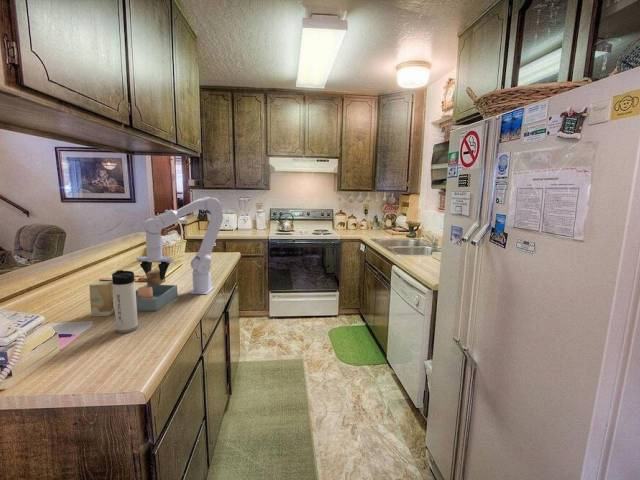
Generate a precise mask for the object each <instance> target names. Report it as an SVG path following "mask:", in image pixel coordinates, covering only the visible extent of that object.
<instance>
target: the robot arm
mask: <svg viewBox="0 0 640 480" xmlns="http://www.w3.org/2000/svg"><path fill="white" fill-rule="evenodd" d="M222 209H223V204H222V203H221V201H220V200H219V199H218V198H217V197H211V196H204V197H202V198H198V199H196V200H194V201H192V202H190V203H188V204H186V205H183V206H182V207H180V208H179V209H176V210H174V209H169V210H168V209H165V210H164V212H163V213H160V214H158V215H153V218H152V217H151V218H148V219H146V220H145V222H144V225H143V229H144V230H145V248H146V256H138V257H136V258H135V259H136V263H140V264H139V265H140V268H141V269H142V270H143V271H144V274H145V277H146V278H147V275H146V273H148V272H150V271H152V270H153V268H152V267H153V263H157V266H158V270H160V279H161V280H163V279H165V280H166V274H167V270H168V267H169V266H170V264H173V263H174V257H167V256H163V244H162V243H163V241H162V234H161V233H162V230H163V229H166V228H168V227H170V226H172V225H174V224H175V223H178V222H179V221H180V218H181V217H183V216H186V215H188V214H191V213H192V212H195V211H204V212H205V213H206V215H208V217H209V219H210V220H209V222H208V225H207V228H206V231H205V234H204V236H203V239H202V241H201V242H202V243H201V245H200V246H199V247H200V248H199V250H198V252H196V254H195V256H194V257H193V258H192V260H191V262H190V266H191V268H192V269H193V270H192V275H191V276H192V290H191V291H190V292H189V294H193V295H207V294H209V293H210V292H211V291H212V290H213V289H215V288H214V286H213V279H212V273H211V272H210V270H211V261H212V256H211V255H212V252H213V248H214V247H215V243H216V241H217V237H218V234H219V232H220V229H221V226H222V223H223V220H224V216H223V215H224V213H223V210H222Z"/></svg>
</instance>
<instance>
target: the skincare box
mask: <svg viewBox="0 0 640 480" xmlns="http://www.w3.org/2000/svg"><path fill="white" fill-rule="evenodd" d="M112 283H113V281H111V280H109V281H104V280H102V281H93V282H92V283H90V284H89V285H88V286H89V301H90V317H104V316H105V317H107V316H108V317H109V316H111V315H112V314H113V313H115V308H114V296H113V284H112Z"/></svg>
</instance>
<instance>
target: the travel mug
mask: <svg viewBox="0 0 640 480" xmlns="http://www.w3.org/2000/svg"><path fill="white" fill-rule="evenodd" d="M111 278H112V279H111V280H112V281H113V283H112V284H113V301H114V317H115V319H114V320H115V328H116V333H119V334H128V333H131V331H132V332H134V331H136V330H137V329H139V323H138V322H139V321H138V311H137V305H136V280H135V273H134V272H133V271H131V270H123V269H120V270H116V272H113V273H112V274H111Z"/></svg>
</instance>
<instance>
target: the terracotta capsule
mask: <svg viewBox="0 0 640 480" xmlns="http://www.w3.org/2000/svg"><path fill="white" fill-rule="evenodd" d="M137 290H138V295H139V298H151V299H153V291H152V286H145V285H143V286H140V287H138V288H137Z"/></svg>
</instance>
